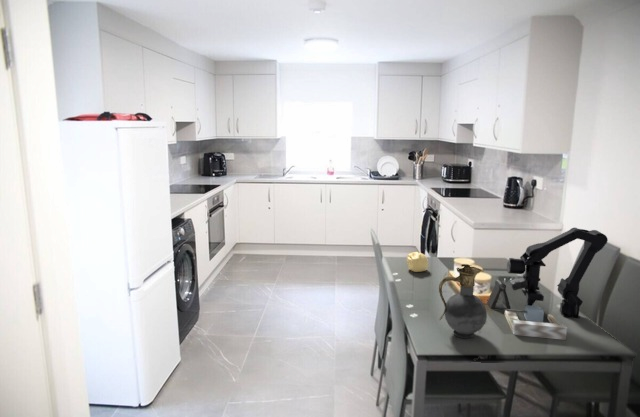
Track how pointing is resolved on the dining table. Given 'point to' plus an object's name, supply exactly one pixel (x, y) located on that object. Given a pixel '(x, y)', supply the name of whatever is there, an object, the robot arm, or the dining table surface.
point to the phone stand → (494, 296)
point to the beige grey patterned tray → (536, 327)
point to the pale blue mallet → (531, 313)
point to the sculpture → (417, 262)
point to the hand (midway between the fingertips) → (528, 307)
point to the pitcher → (464, 304)
